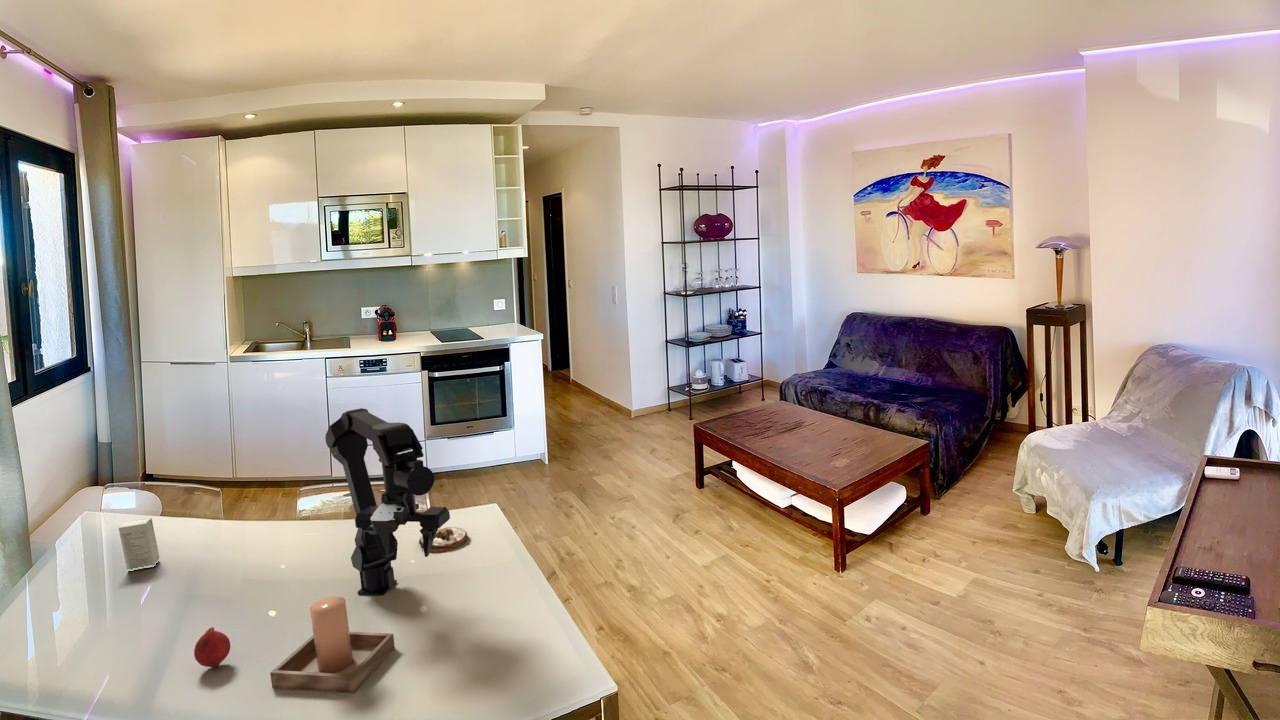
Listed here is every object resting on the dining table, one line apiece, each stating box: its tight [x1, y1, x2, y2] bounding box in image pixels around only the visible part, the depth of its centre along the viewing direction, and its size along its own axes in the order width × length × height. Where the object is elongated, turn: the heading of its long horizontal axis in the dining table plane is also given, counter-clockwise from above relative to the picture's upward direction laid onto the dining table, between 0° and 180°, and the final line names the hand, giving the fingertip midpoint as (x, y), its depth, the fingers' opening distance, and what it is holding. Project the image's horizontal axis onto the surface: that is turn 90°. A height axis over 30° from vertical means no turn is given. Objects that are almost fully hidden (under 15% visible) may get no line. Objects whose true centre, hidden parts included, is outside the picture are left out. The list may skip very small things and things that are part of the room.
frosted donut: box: [418, 526, 468, 553], centre depth 184 cm, size 15×15×4 cm
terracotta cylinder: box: [309, 595, 353, 673], centre depth 128 cm, size 6×6×12 cm
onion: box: [193, 626, 231, 668], centre depth 130 cm, size 6×6×8 cm
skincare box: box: [118, 517, 160, 570], centre depth 177 cm, size 6×4×12 cm
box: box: [269, 631, 396, 694], centre depth 128 cm, size 16×14×3 cm
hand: (406, 555), depth 145 cm, fingers open, 9 cm apart
